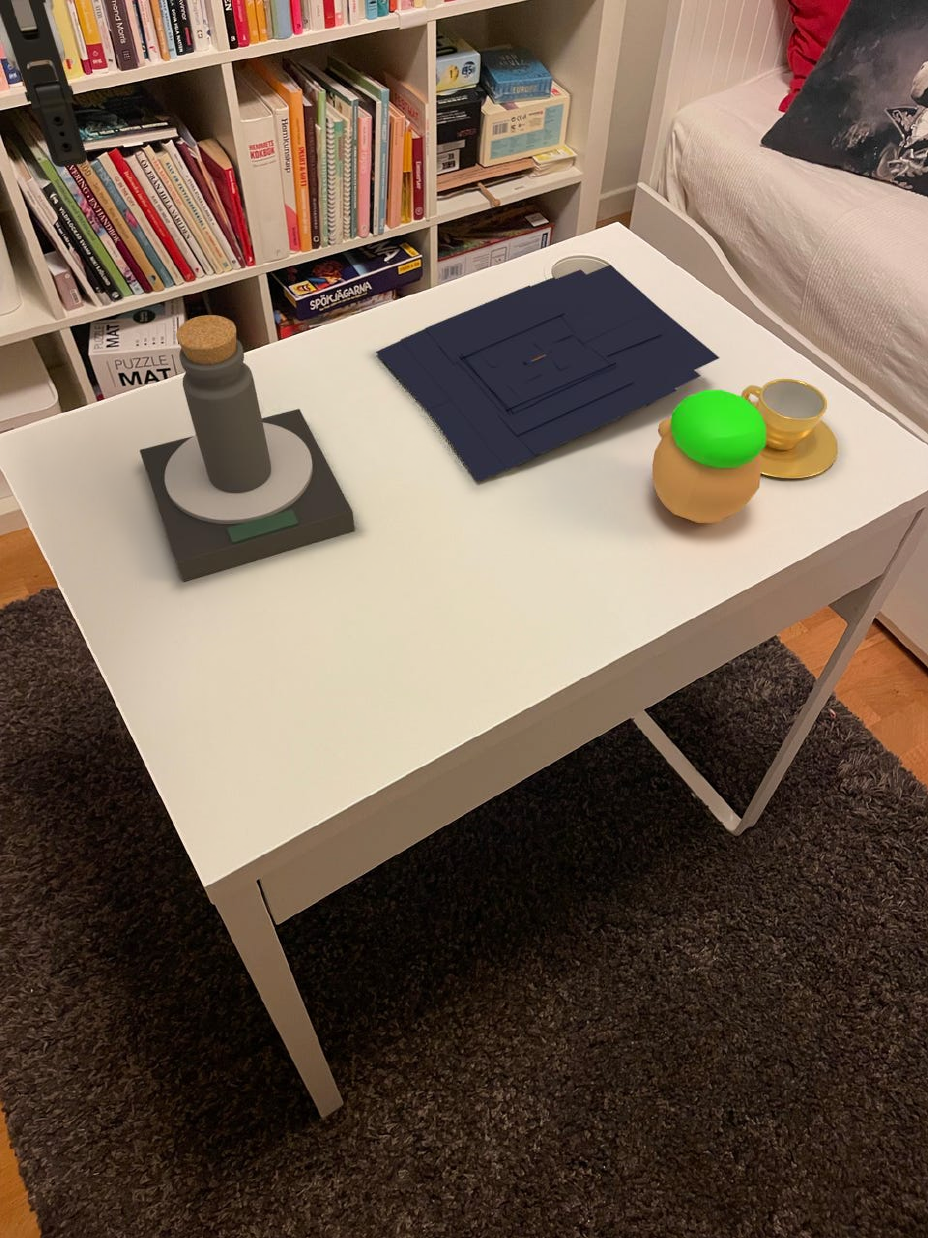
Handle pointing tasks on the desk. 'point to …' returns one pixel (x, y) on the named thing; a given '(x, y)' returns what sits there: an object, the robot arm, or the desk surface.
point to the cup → (793, 429)
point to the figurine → (709, 456)
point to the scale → (247, 501)
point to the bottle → (223, 404)
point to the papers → (544, 366)
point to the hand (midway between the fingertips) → (61, 136)
